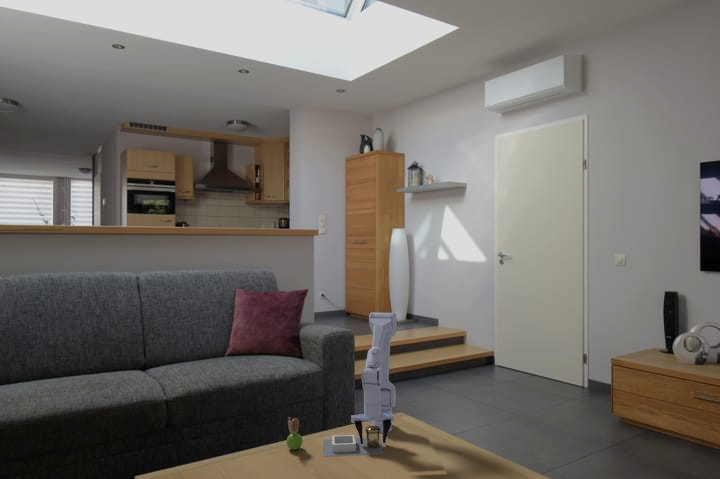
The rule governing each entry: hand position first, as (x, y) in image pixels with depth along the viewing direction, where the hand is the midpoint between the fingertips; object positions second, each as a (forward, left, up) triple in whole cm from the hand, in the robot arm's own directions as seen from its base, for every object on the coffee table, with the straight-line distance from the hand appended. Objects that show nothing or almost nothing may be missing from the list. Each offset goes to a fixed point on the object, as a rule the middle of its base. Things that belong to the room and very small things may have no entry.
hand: (372, 442), depth 170 cm
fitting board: (0, -7, -2) cm, 7 cm away
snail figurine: (-2, -27, -2) cm, 27 cm away
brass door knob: (0, 0, -1) cm, 1 cm away
